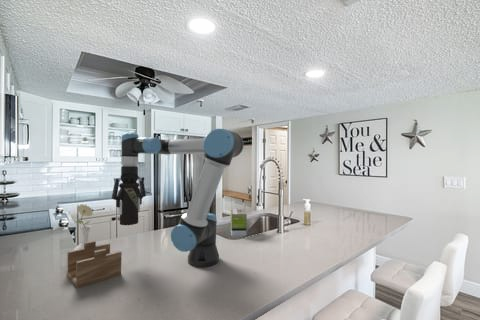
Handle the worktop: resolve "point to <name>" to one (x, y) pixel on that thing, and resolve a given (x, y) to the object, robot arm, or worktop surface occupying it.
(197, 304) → the worktop surface
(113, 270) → the holder
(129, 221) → the container
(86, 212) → the flower in vase
